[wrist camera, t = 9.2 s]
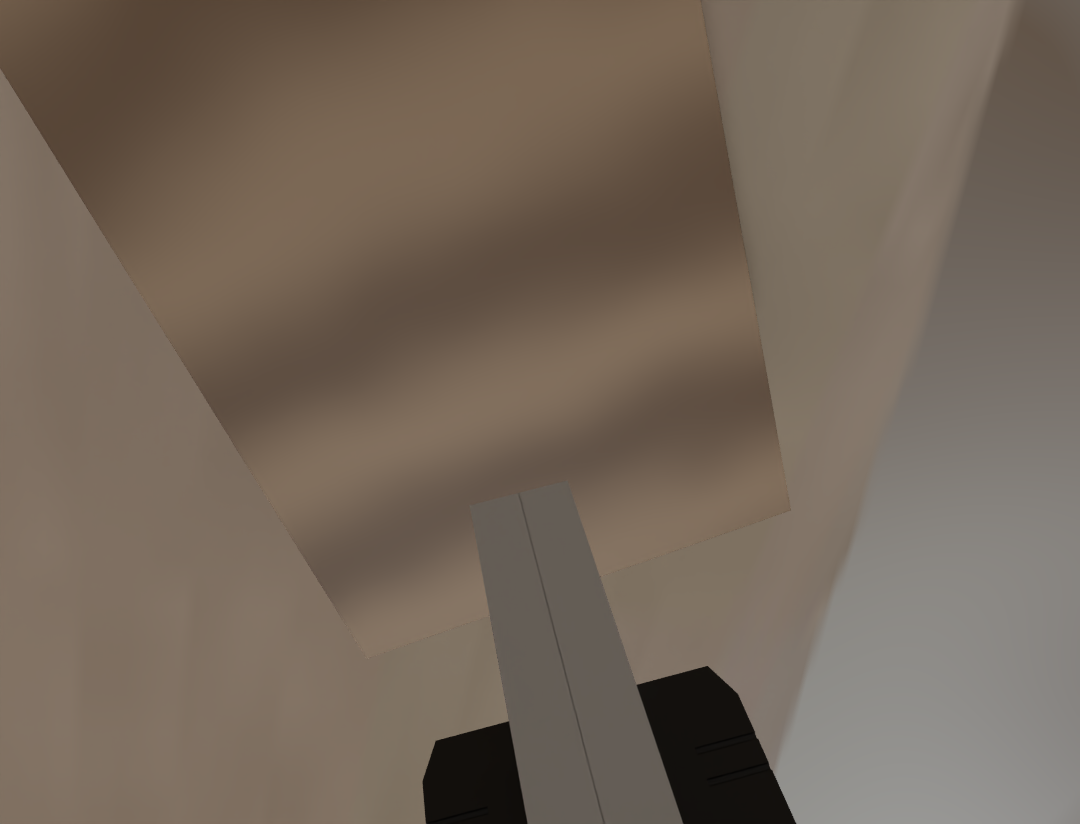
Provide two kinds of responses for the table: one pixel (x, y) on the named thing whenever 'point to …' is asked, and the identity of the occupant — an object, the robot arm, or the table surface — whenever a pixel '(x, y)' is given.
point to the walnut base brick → (428, 265)
